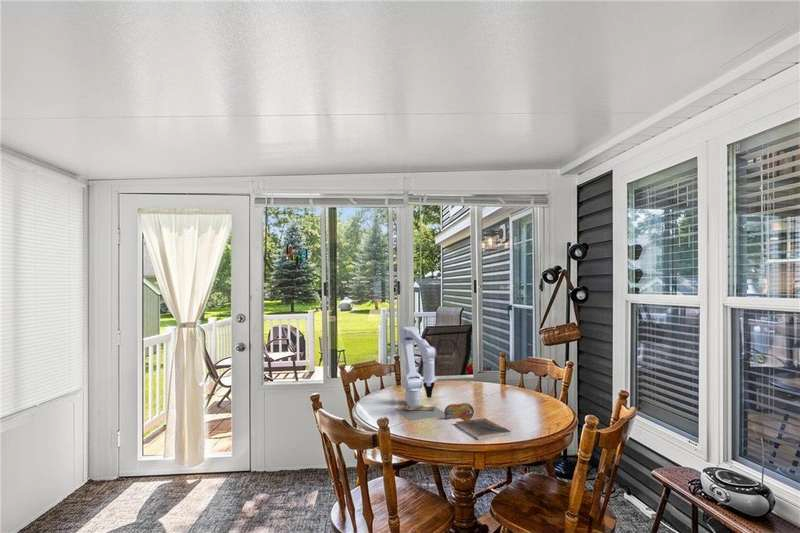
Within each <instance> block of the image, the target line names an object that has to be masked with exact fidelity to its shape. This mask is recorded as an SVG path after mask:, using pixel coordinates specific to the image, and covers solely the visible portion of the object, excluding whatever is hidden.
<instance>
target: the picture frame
mask: <svg viewBox="0 0 800 533" xmlns="http://www.w3.org/2000/svg"><path fill="white" fill-rule="evenodd" d="M455 426H456V427H457V428H459V429H460V430H463V431H464V432H466V433H467V434H469V435H470V434H471V435H470V436H472V437H473V438H475V437H476V438H475V439H477V440H479V441H480V439H481V440H485V439H486V440H487V438H488V439H493V438H494V439H495V438H499V437H507V436H511V435H512V431H511V430H509V429H507V428H505V427H503V426H501V425H500V424H497V423H496V422H493V421H492V420H490V419H487V418H486V417H485V418H484V417H483V418H477V419H476V418H475V419H470V420H467V421H464V420H460V421H455Z"/></svg>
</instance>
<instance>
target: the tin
mask: <svg viewBox="0 0 800 533" xmlns="http://www.w3.org/2000/svg"><path fill="white" fill-rule="evenodd" d="M443 412H444V414H445V417H444V418H445V419H446V420H451V419H453V420H455V419H461V421H467V420H472V418H473V416H474V414H475V410H474V407H473V406H472V405H471V404H470V403H468V402H467V403H466V402H460V403H451V404H447V406H445V408H444V410H443Z"/></svg>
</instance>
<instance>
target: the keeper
mask: <svg viewBox="0 0 800 533" xmlns="http://www.w3.org/2000/svg"><path fill="white" fill-rule="evenodd" d="M418 405H420V404H419V400H414V407H418Z"/></svg>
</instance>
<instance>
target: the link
mask: <svg viewBox="0 0 800 533" xmlns="http://www.w3.org/2000/svg"><path fill="white" fill-rule="evenodd" d="M434 406H435V405H434V404H419V405H418V407H414V405H408V403H406V402H404V403H403V404H401V408H402V410H434Z"/></svg>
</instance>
